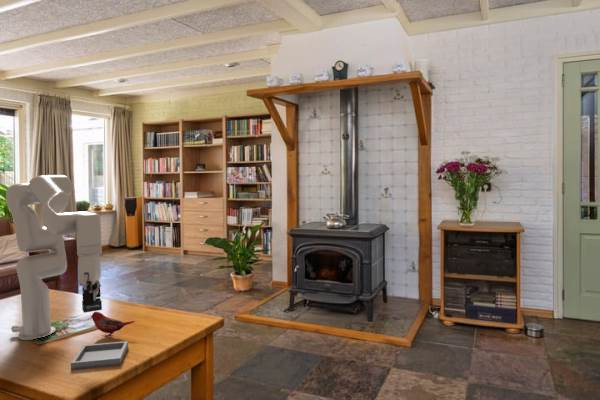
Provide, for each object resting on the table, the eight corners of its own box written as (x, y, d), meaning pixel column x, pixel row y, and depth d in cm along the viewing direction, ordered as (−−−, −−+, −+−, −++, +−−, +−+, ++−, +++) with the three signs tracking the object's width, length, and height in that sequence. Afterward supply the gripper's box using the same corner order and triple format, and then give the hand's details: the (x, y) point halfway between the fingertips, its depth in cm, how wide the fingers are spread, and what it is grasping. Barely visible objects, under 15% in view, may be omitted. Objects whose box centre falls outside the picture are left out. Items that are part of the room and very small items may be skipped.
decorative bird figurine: (92, 335, 170) (91, 310, 170) (137, 335, 170) (136, 310, 169) (88, 338, 167) (87, 312, 167) (134, 338, 167) (133, 312, 166)
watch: (84, 314, 143) (82, 281, 142) (81, 308, 150) (80, 276, 149) (102, 311, 146) (101, 278, 145) (99, 305, 152) (98, 274, 152)
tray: (71, 370, 140) (70, 363, 140) (83, 351, 155) (83, 345, 155) (120, 365, 143) (120, 358, 143) (128, 347, 158) (128, 341, 158)
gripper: (84, 246, 154) (87, 294, 155) (69, 255, 137) (72, 309, 138) (107, 245, 156) (109, 293, 157) (94, 253, 139) (97, 307, 140)
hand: (92, 300), depth 147 cm, fingers closed on watch, 8 cm apart
